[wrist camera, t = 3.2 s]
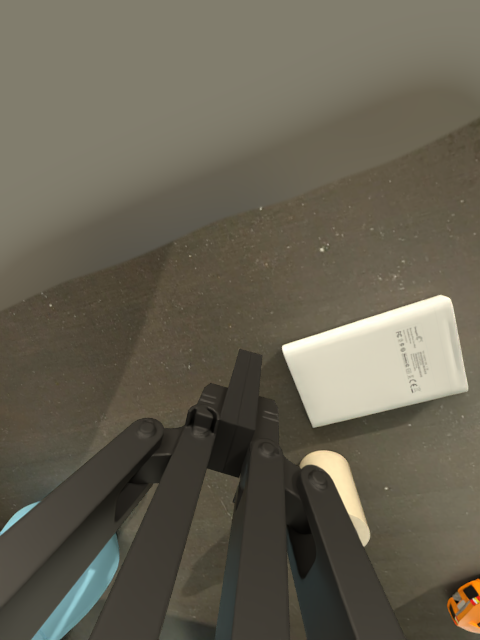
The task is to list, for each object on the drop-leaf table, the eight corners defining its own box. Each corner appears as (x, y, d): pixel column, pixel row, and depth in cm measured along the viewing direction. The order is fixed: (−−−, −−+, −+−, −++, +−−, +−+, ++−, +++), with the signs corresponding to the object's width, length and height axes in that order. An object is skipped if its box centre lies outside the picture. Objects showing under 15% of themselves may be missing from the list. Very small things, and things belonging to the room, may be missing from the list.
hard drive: (281, 343, 23) (439, 293, 19) (311, 417, 25) (457, 382, 22) (282, 351, 21) (453, 298, 18) (313, 430, 23) (471, 394, 20)
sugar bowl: (15, 534, 38) (-89, 656, 27) (35, 472, 33) (-85, 594, 22) (108, 578, 39) (43, 714, 28) (142, 524, 33) (78, 668, 23)
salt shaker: (317, 442, 26) (334, 528, 18) (360, 465, 26) (394, 559, 18) (289, 472, 27) (295, 562, 20) (330, 494, 28) (350, 589, 20)
